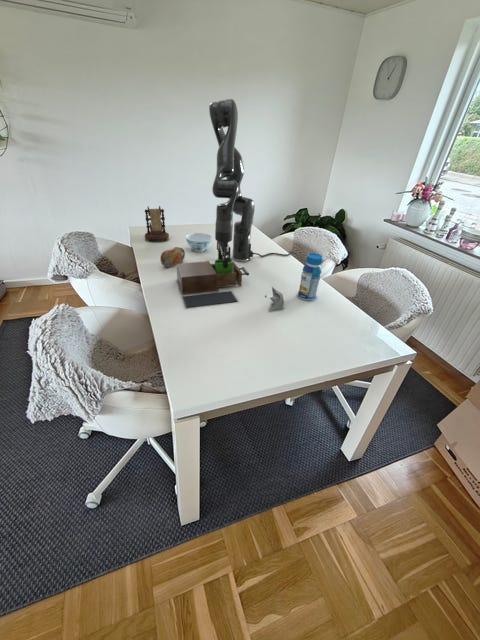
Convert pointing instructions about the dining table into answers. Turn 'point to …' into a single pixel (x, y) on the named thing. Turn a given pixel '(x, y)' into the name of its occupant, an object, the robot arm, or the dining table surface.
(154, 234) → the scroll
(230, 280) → the drawer
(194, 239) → the chinaware
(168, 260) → the tin
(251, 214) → the robot arm
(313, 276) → the beverage bottle
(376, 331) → the dining table surface
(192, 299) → the placemat
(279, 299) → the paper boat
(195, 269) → the cabinet
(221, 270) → the green ridged box
